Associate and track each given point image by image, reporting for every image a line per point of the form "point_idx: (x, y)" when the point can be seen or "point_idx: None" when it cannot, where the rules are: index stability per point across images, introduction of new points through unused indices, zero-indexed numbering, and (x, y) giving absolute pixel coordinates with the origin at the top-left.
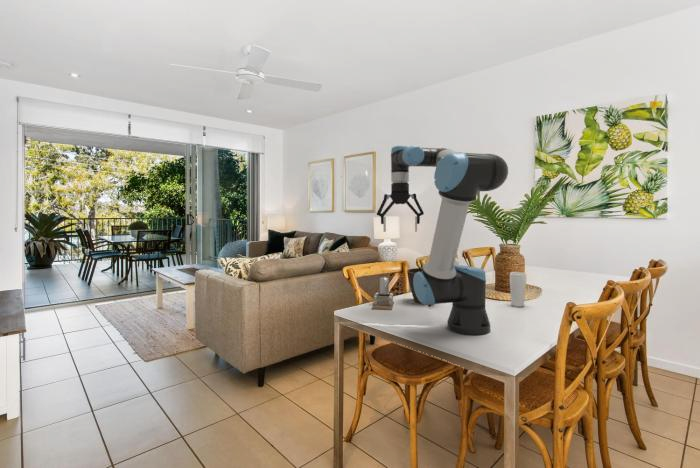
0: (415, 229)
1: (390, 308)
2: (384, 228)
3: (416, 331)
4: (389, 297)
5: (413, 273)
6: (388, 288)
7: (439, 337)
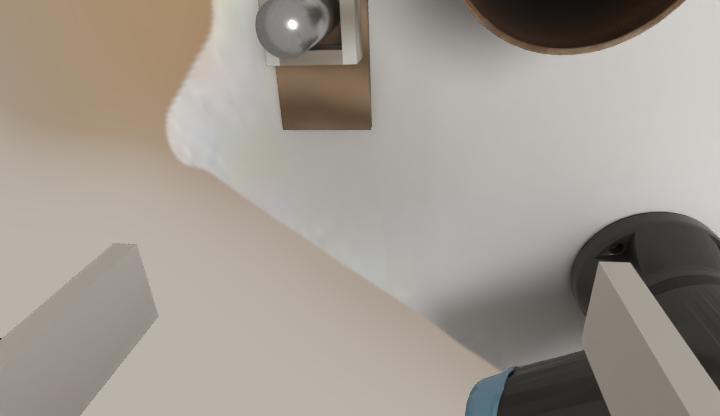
0: (596, 368)
1: (361, 101)
2: (122, 348)
3: (463, 307)
4: (345, 64)
5: (489, 29)
6: (326, 24)
7: (526, 344)
